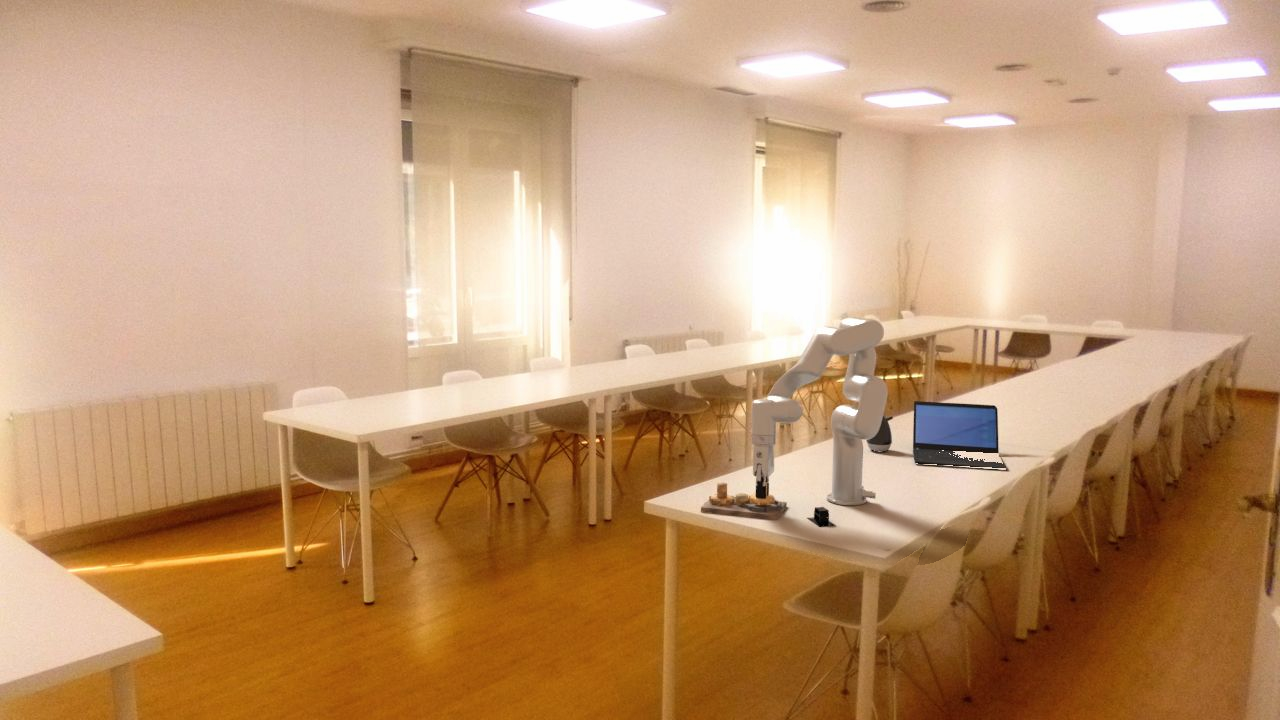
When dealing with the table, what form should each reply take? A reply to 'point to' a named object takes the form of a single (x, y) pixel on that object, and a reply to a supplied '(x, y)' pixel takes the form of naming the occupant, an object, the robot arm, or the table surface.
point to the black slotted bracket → (821, 517)
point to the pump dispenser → (881, 437)
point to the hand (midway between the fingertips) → (762, 496)
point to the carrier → (741, 505)
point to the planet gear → (759, 501)
